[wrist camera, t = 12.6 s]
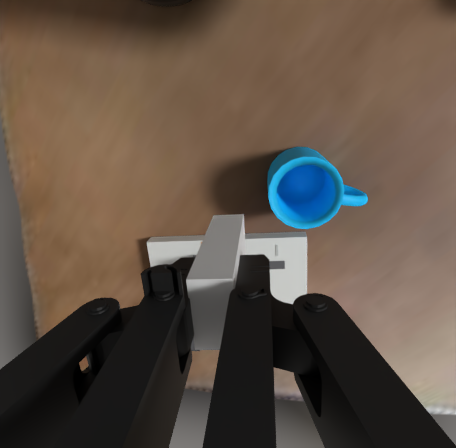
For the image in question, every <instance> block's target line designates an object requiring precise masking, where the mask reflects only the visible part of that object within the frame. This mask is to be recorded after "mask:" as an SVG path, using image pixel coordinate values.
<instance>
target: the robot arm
mask: <svg viewBox="0 0 456 448" xmlns="http://www.w3.org/2000/svg"><path fill="white" fill-rule="evenodd" d="M142 1H144V2H146V3H149V4H152V5H157V6H177V5H181V4H184V3H187V2H190V1H192V0H142ZM141 278H142V284H143V289H144V295H145V296H144V298H143V299H142V301H141V303H140V304H139V305H137V306H133V307H128V308H123V309H120V305H119V302H118V301H117V300H116V299H113V298H100V299H99V298H98V299H94V300H92V301H90V302H87V303H86V304H84V305H82V306H81V307H80V308H78V309H77V310H76V311H74V312H73V313H72V314H71V315H69V316H68V317H67V318H66V319H64V320H63V321H62V322H60V323H59V324H58V325H57V326H55V327H54V328H53V329H51V330H50V331H49V332H48V333H46V334H45V335H44V336H42V337H41V338H40V339H39V340H37V341H36V342H35V343H34V344H32V345H31V346H30V347H28V348H27V349H26V350H24V351H23V352H22V353H21V354H19V355H18V356H17V357H16V358H14V359H13V360H12V361H11V362H9V363H8V364H6V365H5V366H4V367H3V368H2V369H1V370H0V448H169V444H170V440H171V437H172V433H173V429H174V426H175V422H176V418H177V414H178V410H179V407H180V403H181V399H182V396H183V392H184V388H185V385H186V381H187V377H188V373H189V370H190V366H191V362H192V351H191V344H192V341H193V338H194V346H195V350H220V352H219V357H218V363H217V369H216V374H215V380H214V386H213V391H212V397H211V403H210V408H209V414H208V420H207V426H206V431H205V437H204V443H203V448H276V426H275V396H274V367H275V368H279V369H283V370H287V371H290V372H294V376H295V380H296V383H297V385H298V387H299V390H300V392H301V394H302V396H303V399H304V401H305V403H306V406H307V408H308V410H309V412H310V414H311V417H312V419H313V421H314V424H315V426H316V428H317V431H318V433H319V435H320V437H321V439H322V442H323V444H324V447H325V448H456V445H455V444H454V443H453V442H452V441H451V439H450V438H449V437H448V436H447V435H446V433H445V432H444V431H443V430H442V429H441V427H440V426H439V425H438V424H437V423H436V421H435V420H434V419H433V418H432V416H431V415H430V414H429V413H428V412H427V410H426V409H425V408H424V407H423V405H422V404H421V403H420V402H419V401H418V399H417V398H416V397H415V396H414V395H413V393H412V392H411V391H410V390H409V389H408V387H407V386H406V385H405V384H404V382H403V381H402V380H401V379H400V378H399V376H398V375H397V374H396V373H395V372H394V370H393V369H392V368H391V367H390V366H389V364H388V363H387V362H386V361H385V359H384V358H383V357H382V356H381V355H380V353H379V352H378V351H377V350H376V349H375V347H374V346H373V345H372V344H371V343H370V341H369V340H368V339H367V338H366V336H365V335H364V334H363V333H362V332H361V330H360V329H359V328H358V327H357V326H356V324H355V323H354V322H353V321H352V320H351V318H350V317H349V316H348V315H347V313H346V312H345V311H344V310H343V309H342V307H341V306H340V305H339V304H338V303H337V302H336V301H335V300H334V299H333V298H331V297H329V296H326V295H323V294H318V293H313V294H305V295H301V296H299V297H298V298H296V299H295V301H294V303H293V304H289V303H285V302H282V301H280V300H277V299H276V298H275V297H273V295H272V294H271V290H270V265H269V259H268V258H267V257H266V256H265V255H264V254H258V255H246V245H245V229H244V214H236V215H213V218H212V220H211V222H210V225H209V227H208V229H207V232H206V234H205V236H204V239H203V241H202V243H201V246H200V248H199V251H198V253H197V255H196V257H184V258H180V259H178V260H177V261H175V262H174V263H173V264H172V265H171V264H162V265H156V266H153V267H150V268H148V269H146V270H144V271H143V272H142V273H141ZM85 356H86V357H87V361H88V364H89V366H88V367H87V368H86V369H85V370H84V371H81V369H80V365H79V362H80V361H81V360H82V359H83V358H84V357H85Z"/></svg>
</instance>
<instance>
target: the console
mask: <svg viewBox="0 0 456 448" xmlns="http://www.w3.org/2000/svg"><path fill="white" fill-rule="evenodd" d="M204 236H205V235H193V236H165V237H151V238H150V239H149V240H148V241H147V248H148V254H149V260H150V266H151V267H153V266H156V265H162V264H171V265H172V264H173V263H174V262H175V261H177V260H178V259H180V258H184V257H193V255H197V253H198V251H199V248H200V246H201V243H202V241H203V239H204ZM245 245H246V255H258V254H264V255H265V256H266V257H267V258H268V259H269V265H270V290H271V294H272V295H273V297H275V298H276V299H277V300H280V301H282V302H285V303H289V304H293V303H294V301H295V299H296V298H298V297H299V296H301V295H305V294H307V235H306V232H279V233H250V234H245Z"/></svg>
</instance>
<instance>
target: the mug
mask: <svg viewBox="0 0 456 448" xmlns="http://www.w3.org/2000/svg"><path fill="white" fill-rule="evenodd" d="M267 183H268V198H269V202H270V206H271V209H272V210H273V212H274V214H275V215H276V217H277V218H278V219H280V220H281V221H282V222H283V223H285V224H286V225H289V226H292V227H294V228H301V229H310V228H314V227H318V226H320V225H322V224H324V223H326V222H328V221H329V220H330V219H331V218H332V217H333V216H334V215H335V214H336V213H337V212H338V210H339V208H340V206H341V205H347V206H362V205H364V204H366V203H367V201H368V197H367V195H366V193H364V192H362V191H360V190H358V189H356V188H353V187H350V186H347V185H343V180H342V178H341V176H340V174H339V173H338V171H337V169H336V168H335V167H334V166H333V165H332V164H331V163H329V162H328V161H327V160H326V159H325V158H324V157H323V156H322V155H321V154H319V153H318V152H317V151H315V150H313V149H310V148H308V147H294V148H291V149H287V150H285V151H284V152H282V153H281V154H279V155H278V156H277V157H276V158H275V160H274V161H273V162H272V164H271V166H270V168H269V171H268V180H267Z"/></svg>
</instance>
